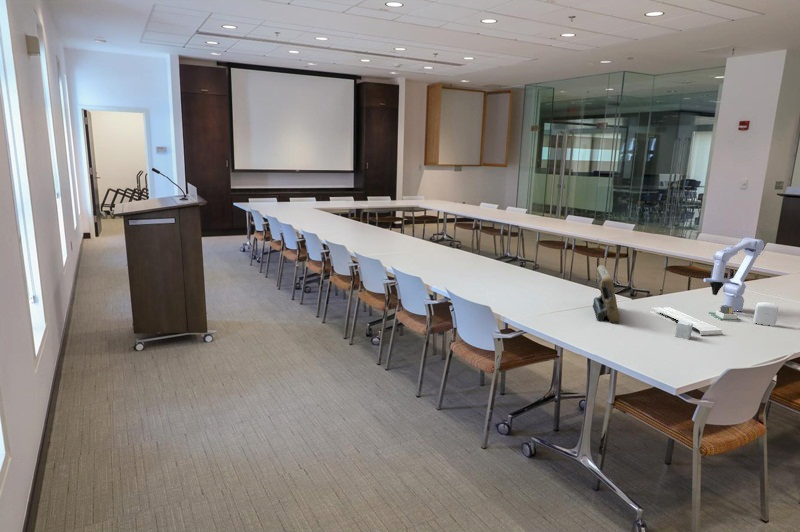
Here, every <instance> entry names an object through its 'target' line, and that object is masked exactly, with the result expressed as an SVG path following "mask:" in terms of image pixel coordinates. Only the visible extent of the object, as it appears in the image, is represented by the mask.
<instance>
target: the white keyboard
mask: <svg viewBox="0 0 800 532" xmlns="http://www.w3.org/2000/svg"><path fill="white" fill-rule="evenodd" d="M651 309H652V311H649V312H648V313H651V314H653V315H655V316H657V317H659V318H661V317H665V316H666V317H667V315H668V316H670V317H672V318H674V319H676V320H678V321H677V322H679V321H680V320H681V321H686V322H690V323H693V327H692V328H695V329H697V330H698V331H699V333H700V334H698V335H699V336H718V335H719V336H720V335H722V334H723V330H722V329H721V328H720V327H718V326H715V325H713V324H710V323H707V322H705V321H702V320H701V319H698V318H696V317H693V316H691V315H689V314H686V313H684V312H682V311H679V310H677V309H674V308H672V307H670V306H665V307H659V306H658V307H651ZM654 310H655V311H654ZM660 313H661V314H660ZM662 314H663V315H664V316H663V315H662ZM666 317H665V318H666ZM667 318H669V317H667ZM672 318H671V319H672ZM674 319H673V320H674ZM676 320H675V321H676Z"/></svg>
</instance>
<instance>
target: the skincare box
mask: <svg viewBox="0 0 800 532" xmlns="http://www.w3.org/2000/svg"><path fill="white" fill-rule="evenodd" d="M677 322H678V323H676V328H675V335H674V337H676V338H679V339H683V340H687V341H688V340H689V339H690V338H691V337H692V331H693V328H694V327H693V323H690V322H686V321H681V320H680V321H677Z"/></svg>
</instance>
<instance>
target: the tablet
mask: <svg viewBox="0 0 800 532" xmlns="http://www.w3.org/2000/svg"><path fill="white" fill-rule="evenodd" d="M595 271H596V277H595V278H596V281H597V286H598V287H599V291H600V296H597V297H596V296H595V297H593V298H594V299H593V304H592V309H593V311H594V315H595V317H596V318H595V319H596V320H597V321H598V322H604V321H605V317H607V319H608V321H609V322H610V323H611V324H614V323H616V324H619V322H620V321H621V316H620V315H621V314H620V312H619V307H618V304H617V298H616V295H615V291H616V290H615V286H614V281H613V279H612V276H611V275H610V272H609V270H608V269H607V267H606V266H605V265H603V264H601V265H598V266H597V267H596V270H595Z"/></svg>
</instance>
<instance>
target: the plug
mask: <svg viewBox="0 0 800 532" xmlns="http://www.w3.org/2000/svg"><path fill="white" fill-rule="evenodd" d="M720 307H721V308H720V310H721V311H720V312H722V313H724V314H732V312H733V311H732V310H733V307H731V306H728V305H723V304H722V305H720Z"/></svg>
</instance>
